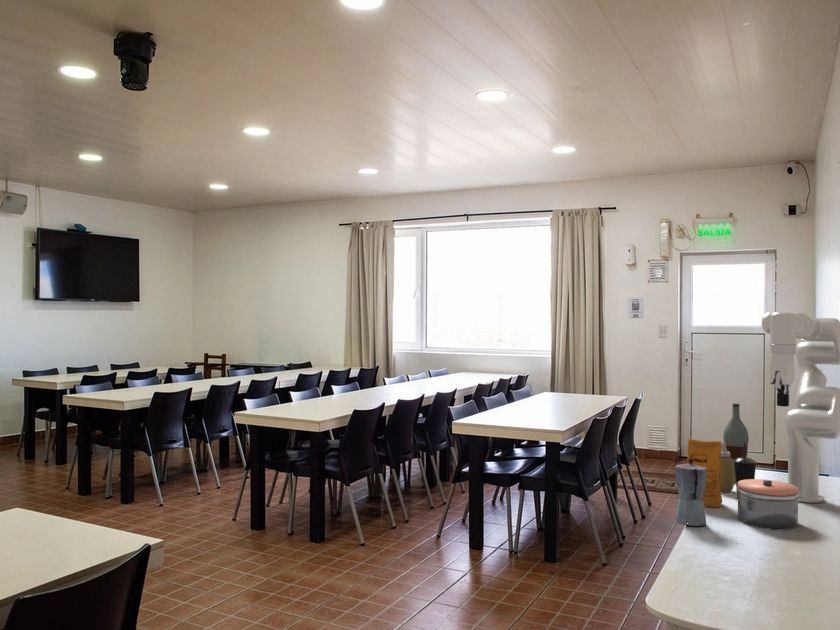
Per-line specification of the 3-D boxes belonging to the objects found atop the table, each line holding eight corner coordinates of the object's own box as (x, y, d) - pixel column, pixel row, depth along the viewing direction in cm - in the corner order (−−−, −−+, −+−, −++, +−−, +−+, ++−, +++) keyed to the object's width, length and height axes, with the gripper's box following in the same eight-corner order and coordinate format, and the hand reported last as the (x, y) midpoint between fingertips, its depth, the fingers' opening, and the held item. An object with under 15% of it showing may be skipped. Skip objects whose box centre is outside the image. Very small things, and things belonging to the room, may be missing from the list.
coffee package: (686, 497, 253) (686, 435, 253) (724, 502, 246) (724, 439, 246) (680, 504, 244) (681, 440, 244) (719, 509, 238) (720, 443, 238)
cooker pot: (749, 510, 237) (749, 480, 237) (807, 521, 224) (807, 489, 224) (727, 521, 224) (727, 489, 224) (787, 533, 212) (787, 499, 212)
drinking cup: (755, 503, 246) (755, 445, 246) (731, 500, 250) (731, 443, 250) (758, 498, 252) (758, 442, 252) (734, 495, 256) (734, 439, 256)
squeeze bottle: (738, 493, 259) (739, 444, 259) (716, 493, 259) (716, 443, 259) (729, 488, 267) (729, 440, 267) (707, 488, 267) (708, 440, 267)
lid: (750, 480, 236) (750, 472, 236) (805, 489, 224) (805, 481, 224) (729, 488, 224) (729, 480, 224) (786, 498, 212) (786, 490, 212)
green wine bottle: (754, 482, 277) (754, 405, 277) (734, 483, 275) (734, 405, 275) (737, 476, 286) (737, 402, 286) (717, 478, 284) (718, 402, 284)
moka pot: (700, 517, 229) (700, 454, 229) (715, 531, 213) (715, 464, 213) (669, 516, 230) (669, 454, 230) (682, 530, 214) (682, 464, 214)
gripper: (779, 348, 242) (778, 403, 242) (762, 350, 231) (762, 407, 231) (803, 349, 236) (803, 405, 236) (787, 351, 226) (787, 409, 226)
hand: (782, 405), depth 234 cm, fingers closed
